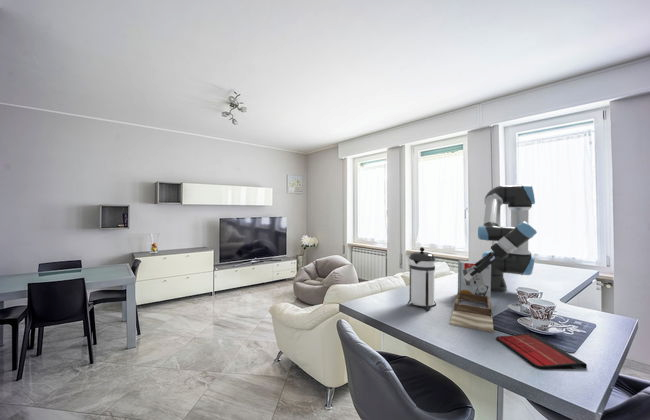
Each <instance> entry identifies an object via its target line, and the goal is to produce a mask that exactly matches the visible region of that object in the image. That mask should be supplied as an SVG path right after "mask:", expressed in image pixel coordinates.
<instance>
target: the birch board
mask: <svg viewBox="0 0 650 420" xmlns="http://www.w3.org/2000/svg"><path fill="white" fill-rule="evenodd" d="M493 320H494V319H493V316H492V315H491V316H485V315H479V314H473V313H467V312H461V311H455V310H452V314H451V318H450V321H449V323H450V324H449V325H453V326H457V327H458V326H459V327H463V328H467V329H473V330H477V331H484V332H488V333H492V334H493V333H495V329H494V321H493Z"/></svg>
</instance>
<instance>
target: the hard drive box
mask: <svg viewBox="0 0 650 420" xmlns="http://www.w3.org/2000/svg"><path fill="white" fill-rule="evenodd" d="M457 261H458V262H457V265H458V267H457V293H458V292H459V293H466V294H474V295H481V296H488V297H490V298H491V264H490V265H489V266H488V267H486V268H485V269H484V270H483V271H482V272H481V274H482V278H483V282H484V285H481V286H476V287H471V286H467V285H466V282H465V278H464V274H463V270H466V269H467V268H471V267H472V266H474V265H475V264H476V262H477V261H476V260H460V259H459V260H457Z"/></svg>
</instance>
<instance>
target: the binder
mask: <svg viewBox="0 0 650 420" xmlns="http://www.w3.org/2000/svg"><path fill="white" fill-rule="evenodd" d="M495 338H496V339H495V340H496V341H497V342H499V343H500V344H503V345H504V346H506V347H507V348H508V349H510V350H511V351H513V352H514V353H516V354H517V355H518V356H520V357H521V358H523V359H524V360H525V361H526V362H527V363H528V364H529V365H531V367H534V368H535V369H541V370H576V369H577V368H576V367H573V366H580V367H582V368H584V369H587V366H588V365H587V363H586V362H584V361H582V360H581V359H579V358H577V357H575V356H573V355H571V354H570V353H568V352H566V351H565V350H563V349H561V348H560V347H558V346H557V345H555V344H552V343H551V342H549V341H548V340H545V339H543V338H542V337H540V336H539V335H536V334H535V332H532V333H521V334H511V335H501V336H500V335H498V336H496V337H495Z"/></svg>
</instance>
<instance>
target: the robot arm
mask: <svg viewBox="0 0 650 420" xmlns="http://www.w3.org/2000/svg"><path fill="white" fill-rule="evenodd" d="M535 200H536V199H535V193H534V188H533V186H532V185H531V184H523V183H522V184H509V185H505V184H504V185H498V186H496V187H494V188H492V189H490V190H489V191H488V192H487V193H486V195H485V197H484V200H483V201H484V205H485V209H484V217H483V225H479V226H478V228H477V238H478V239H479V240H481V241H482V240H483V241H486V242H487V241H489V242H490V241H493V242H495V243H493V244H492V245H491V246H490V250H489V251H484V252H483V253H482V254H481V256H482V258H481V259H479V260H478V261H476V264H475V265H474V266H472V267H473V270H471V271H470V272H469V273H468V274H466V275H465V276H464V278H465V279H466V280H467V281H469V280H470V279H471V278H473V277H474V276H475V275H477V274H478V273H481V272H482V271H483V270H484V269H485V268H486V267H488V266H489V265H490V264H491V291H493V292H506V291H507V290H508V286H507V283H506V280H505V278H504V274H512V275H518V276H519V275H520V276H530V275H532V274H533V271H534V268H535V267H534V265H535V256H533V255H532V252H531V251H530V250H529V240H530V239H532V238H533V237H534V236H536V235H537V234H538V233H537V230H536V229H535V228H534V227H533V226H531V225H530V224H529V216H530V215H529V210H531V209H532V207H533V205H535V204H536V201H535ZM503 205H507V208H509V210H510V226H500V220H501V208H502V207H501V206H503ZM475 267H476V268H475ZM491 291H490V292H491Z"/></svg>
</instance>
